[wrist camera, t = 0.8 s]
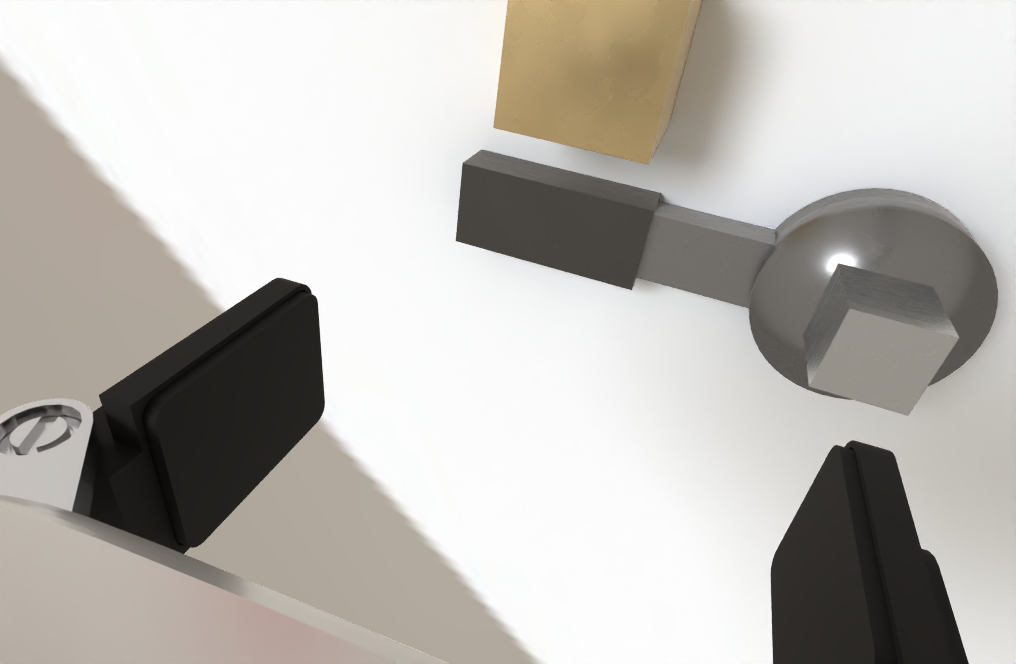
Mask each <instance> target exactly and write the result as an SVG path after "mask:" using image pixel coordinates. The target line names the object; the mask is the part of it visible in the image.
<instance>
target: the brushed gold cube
mask: <svg viewBox="0 0 1016 664" xmlns="http://www.w3.org/2000/svg"><path fill="white" fill-rule="evenodd" d="M701 4H702V0H508V5H507V14H506V23H505V32H504V40H503V49H502V58H501V67H500V75H499V84H498V93H497V102H496V110H495V119H494V128H496V129H500V130H505V131H509V132H513V133H518V134H522V135H526V136H530V137H535V138H539V139H543V140H547V141H552V142H556V143H560V144H564V145H569V146H573V147H577V148H581V149H586V150H590V151H594V152H598V153H603V154H607V155H611V156H615V157H620V158H624V159H628V160H632V161H637V162H641V163H645V164H649V162H650V160H651V158H652V156H653V154H654V152H655V150H656V149H657V147H658V145H659V143H660V141H661V139H662V137H663V135H664V133H665V131H666V129H667V127H668V125H669V121H670V118H671V114H672V110H673V107H674V103H675V99H676V96H677V92H678V88H679V85H680V81H681V77H682V74H683V70H684V66H685V62H686V59H687V55H688V51H689V48H690V44H691V40H692V37H693V33H694V29H695V26H696V22H697V18H698V15H699V11H700V7H701Z"/></svg>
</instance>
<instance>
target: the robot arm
mask: <svg viewBox="0 0 1016 664" xmlns="http://www.w3.org/2000/svg"><path fill="white" fill-rule="evenodd" d="M99 397H100V400H101V403H102V406H101V407H100V408H98V409H97V410H96V411H94V412H92V411H91V409H90V408H89V407H88V406H87V405H86V404H84V403H81V402H80V401H77V400H72V399H65V398H61V399H60V398H59V399H46V400H40V401H35V402H31V403H28V404H25V405H22V406H19V407H17V408H14V409H12V410H10V411H9V412H6V413H4V414H3V415H1V416H0V664H450V663H447V662H445V661H443V660H440V659H438V658H435V657H433V656H431V655H428V654H425V653H423V652H421V651H418V650H416V649H414V648H411V647H409V646H406V645H404V644H402V643H399V642H397V641H394V640H392V639H389V638H387V637H385V636H382V635H380V634H377V633H375V632H373V631H370V630H368V629H365V628H363V627H360V626H358V625H355V624H353V623H351V622H348V621H346V620H343V619H341V618H338V617H336V616H334V615H331V614H329V613H326V612H324V611H322V610H319V609H317V608H314V607H312V606H309V605H307V604H305V603H302V602H300V601H297V600H295V599H292V598H290V597H288V596H285V595H282V594H280V593H278V592H275V591H273V590H270V589H268V588H265V587H263V586H260V585H258V584H256V583H253V582H251V581H248V580H246V579H243V578H241V577H238V576H236V575H234V574H231V573H228V572H226V571H224V570H221V569H219V568H216V567H214V566H211V565H209V564H206V563H204V562H202V561H199V560H197V559H194V558H192V557H189V556H187V555H184V553H185V552H186V551H187V550H188V549H189V548H190V547H192V548H193V547H197V546H199V545H200V544H202V543H203V542H204V541H205V540H206V539H207V538H208V537H209V536H210V535H211V534H212V533H213V532H214V530H215V529H216V528H217V527H218V526H219V525H220V524H221V523H222V522H223V521H224V520H225V519H226V518H227V517H228V516H229V515H230V514H231V513H232V512H233V510H234V509H235V508H236V507H237V506H238V505H239V504H240V503H241V502H242V501H243V500H244V499H245V498H246V497H247V495H249V494H250V492H252V490H253V489H254V488H255V487H256V486H257V485H258V484H259V483H260V482H261V481H262V480H263V479H264V478H265V477H266V476H267V475H268V474H269V472H270V471H271V470H272V469H273V468H274V467H275V466H276V465H277V464H278V463H279V462H280V461H281V460H282V459H283V458H284V457H285V456H286V455H287V453H288V452H289V451H290V450H291V449H292V448H293V447H294V446H295V445H296V444H297V443H298V442H299V441H300V440H301V439H302V438H303V437H304V436H305V435H306V433H307V432H308V431H309V430H310V429H311V428H312V427H313V426H314V425H315V424H316V423H317V422H318V420H319V419H320V418H321V416H322V413H323V411H324V406H325V399H324V385H323V371H322V357H321V342H320V328H319V314H318V302H317V298H316V297H315V296H314V295H312V293H311V290H310V288H309V287H308V286H307V285H304V284H301V283H297V282H294V281H290V280H287V279H283V278H276V279H274V280H272V281H271V282H269V283H268V284H266V285H265V286H263V287H262V288H260V289H259V290H257V291H256V292H254V293H253V294H251V295H249V296H248V297H246V298H245V299H243V300H242V301H240V302H239V303H237V304H236V305H234V306H233V307H231V308H230V309H228V310H227V311H225V312H224V313H222V314H221V315H219V316H218V317H216V318H215V319H213V320H212V321H210V322H209V323H207V324H206V325H204V326H203V327H201V328H200V329H198V330H197V331H195V332H194V333H192V334H191V335H189V336H188V337H186V338H185V339H183V340H182V341H180V342H178V343H177V344H175V345H174V346H172V347H171V348H169V349H168V350H166V351H165V352H163V353H162V354H161V355H159V356H157V357H156V358H154V359H153V360H151V361H150V362H149V363H147V364H145V365H144V366H142V367H141V368H139V369H138V370H136V371H135V372H133V373H132V374H130V375H129V376H127V377H126V378H124V379H123V380H121V381H120V382H118V383H117V384H115V385H114V386H112V387H111V388H109V389H107V390H106V391H105V392H103V393H101V394H100V395H99ZM771 604H772V640H773V664H969V663H968V660H967V657H966V653H965V650H964V647H963V644H962V640H961V637H960V634H959V630H958V627H957V624H956V621H955V617H954V614H953V611H952V608H951V604H950V601H949V598H948V594H947V591H946V588H945V585H944V581H943V578H942V575H941V572H940V568H939V565H938V563H937V561H936V559H935V557H934V556H933V555H932V554H931V553H930V552H929V551H927V550H924V549H921V546H920V543H919V539H918V536H917V532H916V529H915V525H914V522H913V518H912V515H911V511H910V508H909V504H908V500H907V497H906V493H905V490H904V486H903V483H902V479H901V476H900V472H899V469H898V465H897V462H896V458H895V456H894V454H893V453H892V452H891V451H889V450H885V449H882V448H878V447H875V446H871V445H868V444H864V443H861V442H857V441H854V440H853V441H850V442H849V443H847V444H846V446H845V447H841V446H838V445H835V446H834V447H833V448H832V449H831V450H830V452H829V454H828V456H827V458H826V459H825V461H824V463H823V465H822V467H821V469H820V471H819V472H818V474H817V476H816V478H815V480H814V482H813V484H812V485H811V487H810V489H809V491H808V493H807V495H806V497H805V498H804V500H803V502H802V504H801V506H800V508H799V510H798V511H797V513H796V515H795V517H794V519H793V521H792V523H791V524H790V526H789V528H788V530H787V532H786V534H785V536H784V537H783V539H782V541H781V543H780V545H779V547H778V549H777V550H776V553H775V555H774V558H773V561H772V566H771Z"/></svg>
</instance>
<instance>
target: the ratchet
mask: <svg viewBox="0 0 1016 664" xmlns="http://www.w3.org/2000/svg"><path fill="white" fill-rule="evenodd" d="M660 196H661V193H657V192H653V191H649V190H645V189H641V188H637V187H633V186H629V185H625V184H620V183H616V182H612V181H608V180H604V179H600V178H596V177H592V176H588V175H584V174H579V173H575V172H571V171H567V170H563V169H559V168H555V167H551V166H547V165H543V164H538V163H534V162H530V161H526V160H522V159H518V158H514V157H510V156H506V155H502V154H497V153H493V152H489V151H485V150H480V151H479V152H478V153H476V154H475V155H473V156H472V157H471V158H469V159H468V160H466V161H465V162H464V163H463V166H462V177H461V188H460V199H459V211H458V222H457V233H456V241H458V242H461V243H465V244H469V245H472V246H476V247H479V248H483V249H486V250H490V251H494V252H497V253H501V254H504V255H508V256H512V257H515V258H519V259H522V260H526V261H529V262H533V263H537V264H540V265H544V266H547V267H551V268H555V269H558V270H562V271H565V272H569V273H572V274H576V275H580V276H583V277H587V278H590V279H594V280H598V281H601V282H605V283H608V284H612V285H615V286H619V287H623V288H626V289H630V290H632V288H633V286H634V283H635V280H636V278H641V279H644V280H648V281H652V282H655V283H659V284H662V285H666V286H670V287H673V288H677V289H681V290H684V291H688V292H692V293H695V294H699V295H703V296H706V297H710V298H713V299H717V300H721V301H724V302H728V303H732V304H735V305H739V306H743V307H746V308H749V319H750V325H751V330H752V334H753V337H754V340H755V342H756V344H757V346H758V348H759V350H760V352H761V353H762V354H763V356H764V357H765V359H766V360H767V361H768V362H769V363H770V364H771V365H772V366H773V367H774V369H776V370H777V371H778V372H779V373H780V374H782V375H783V376H784V377H786V378H787V379H789V380H790V381H792V382H793V383H795V384H797V385H799V386H801V387H803V388H805V389H807V390H810V391H813V392H816V393H819V394H822V395H826V396H830V397H835V398H842V399H852V400H857V401H860V402H864V403H867V404H870V405H874V406H877V407H881V408H884V409H887V410H891V411H894V412H898V413H901V414H904V415H909V413H910V412H911V410H912V409H913V407H914V406H915V404H916V403H917V401H918V400H919V398H920V397H921V395H922V393H923V392H924V390H925V389H926V387H927V386H929V385H932V384H934V383H936V382H938V381H940V380H941V379H943V378H945V377H946V376H948V375H950V374H951V373H953V372H954V371H955V370H956V369H958V368H959V367H960V366H962V365H963V364H964V363H965V362H966V361H967V360H968V359H969V358H970V357H971V356H972V355H973V354H974V353H975V352H976V351H977V349H978V348H979V347H980V346H981V344H982V343H983V341H984V340H985V338H986V336H987V334H988V333H989V331H990V328H991V326H992V323H993V321H994V318H995V314H996V309H997V301H998V290H997V283H996V278H995V275H994V272H993V269H992V266H991V264H990V263H989V261H988V259H987V257H986V256H985V254H984V252H983V251H982V250H981V248H980V247H979V246H978V244H977V243H976V242H975V240H974V239H973V238H972V236H971V235H970V233H969V232H968V231H967V229H966V228H965V227H964V226H963V225H962V223H961V222H960V221H959V220H958V219H957V218H956V217H955V216H954V215H953V214H951V213H950V212H949V211H948V210H947V209H945V208H944V207H942V206H940V205H939V204H937V203H935V202H934V201H931V200H929V199H927V198H924V197H922V196H919V195H916V194H913V193H909V192H906V191H899V190H893V189H878V188H872V189H858V190H852V191H847V192H841V193H838V194H835V195H831V196H828V197H825V198H823V199H820V200H818V201H815V202H813V203H811V204H809V205H807V206H806V207H804V208H802V209H800V210H799V211H797V212H796V213H794V214H793V215H791V216H790V217H789V218H787V219H786V220H785V221H784V222H783V223H782V224H781V225H779V226H778V227H777V228H776V229H775V230H772V229H768V228H764V227H760V226H756V225H752V224H748V223H744V222H740V221H736V220H732V219H728V218H724V217H720V216H716V215H712V214H708V213H704V212H699V211H695V210H691V209H687V208H683V207H679V206H675V205H671V204H667V203H663V202H659V199H660Z"/></svg>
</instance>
